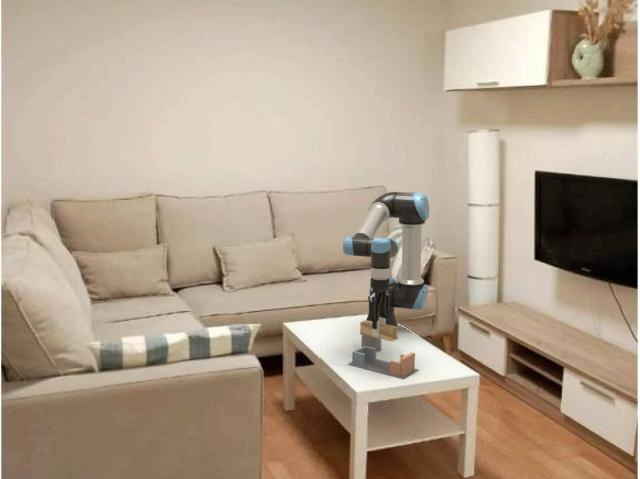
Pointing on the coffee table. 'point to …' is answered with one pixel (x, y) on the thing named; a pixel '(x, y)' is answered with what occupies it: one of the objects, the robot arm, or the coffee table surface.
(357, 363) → the seat
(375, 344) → the cup
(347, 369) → the coffee table surface
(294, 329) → the coffee table surface
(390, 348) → the coffee table surface
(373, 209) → the robot arm
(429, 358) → the coffee table surface
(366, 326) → the tan wooden block
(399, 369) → the endcap
